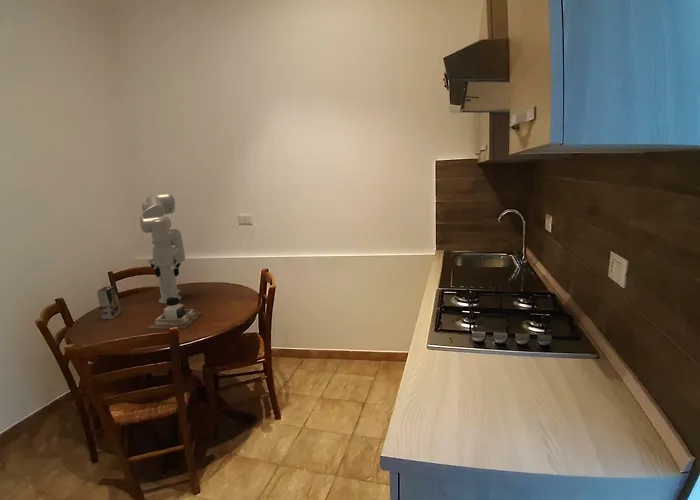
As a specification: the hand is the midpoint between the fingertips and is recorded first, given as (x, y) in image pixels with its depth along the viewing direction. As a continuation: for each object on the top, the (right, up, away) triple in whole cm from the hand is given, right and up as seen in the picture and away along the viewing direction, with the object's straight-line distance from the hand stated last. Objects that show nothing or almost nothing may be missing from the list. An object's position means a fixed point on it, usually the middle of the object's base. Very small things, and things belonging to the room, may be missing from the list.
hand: (167, 276), depth 222 cm
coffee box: (-39, -24, +19) cm, 49 cm away
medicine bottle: (+3, -23, +4) cm, 24 cm away
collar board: (+3, -24, +4) cm, 24 cm away
